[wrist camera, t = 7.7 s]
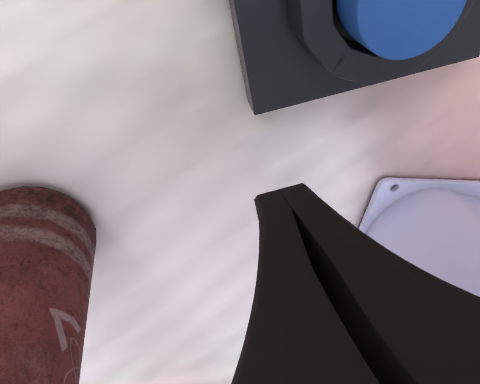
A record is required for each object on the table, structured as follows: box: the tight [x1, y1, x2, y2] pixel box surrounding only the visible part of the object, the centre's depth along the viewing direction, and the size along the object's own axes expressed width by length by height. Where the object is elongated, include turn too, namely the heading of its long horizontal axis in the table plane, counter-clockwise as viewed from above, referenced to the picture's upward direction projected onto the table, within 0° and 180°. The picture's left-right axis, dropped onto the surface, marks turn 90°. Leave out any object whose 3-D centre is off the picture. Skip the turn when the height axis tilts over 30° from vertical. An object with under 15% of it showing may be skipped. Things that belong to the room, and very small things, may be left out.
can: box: [0, 187, 96, 384], centre depth 17 cm, size 6×6×14 cm
